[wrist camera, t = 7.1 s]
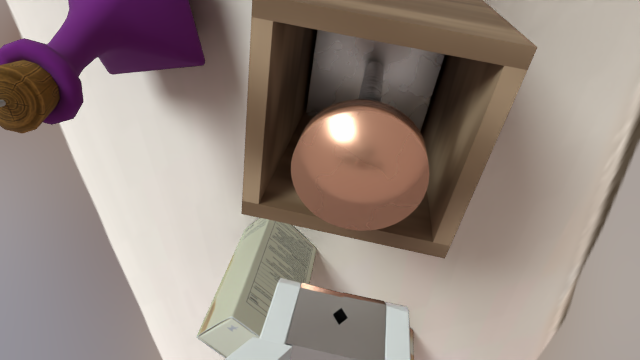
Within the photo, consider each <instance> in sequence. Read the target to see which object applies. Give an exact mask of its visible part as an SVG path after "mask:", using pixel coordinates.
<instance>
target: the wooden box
mask: <svg viewBox="0 0 640 360" xmlns="http://www.w3.org/2000/svg"><path fill="white" fill-rule="evenodd" d="M318 30H321V31H327V32H332V33H337V34H342V35H347V36H353V37H358V38H363V39H368V40H373V41H379V42H384V43H389V44H394V45H399V46H405V47H410V48H415V49H420V50H425V51H430V52H436V53H441V54H445V55H444V59H443V62H442V65H441V68H440V71H439V74H438V77H437V81H436V84H435V87H434V90H433V93H432V96H431V100H430V103H429V106H428V109H427V112H426V115H425V119H424V122H423V125H422V128H421V131H420V133H421V134H422V136H423V139H424V142H425V145H426V150H427V156H428V163H429V184H428V187H427V191H426V193H425V196H424V198H423V200H422V201H421V203H420V204H419V206H418V207H417V208H416V209H415V210H414V211H413V212H412V213H411V214H410V215H409V216H407V217H406V218H405V219H403V220H402V221H400V222H398V223H396V224H394V225H391V226H389V227H386V228H382V229H377V230H369V231H358V230H350V229H344V228H341V227H337V226H335V225H332V224H330V223H328V222H326V221H324V220H322V219H321V218H319V217H318V216H316V215H315V214H314V213H312V212H311V211H310V210H309V209H308V208H307V207H306V206H305V205H304V203H303V202H302V201H301V199H300V198H299V196H298V194H297V192H296V190H295V188H294V185H293V181H292V177H291V161H292V156H293V153H294V150H295V148H296V145H297V143H298V141H299V139H300V137H301V134H302V132H303V131H304V129H305V127H306V126H307V124H308V123H309V122H310V120H311V119H312V118H313V116H308V115H306V110H307V103H308V96H309V89H310V81H311V74H312V67H313V60H314V53H315V45H316V38H317V31H318ZM536 49H537V46H535V45H534V44H533V43H532V42H531V41H530V40H528V39H527V38H526V37H525V36H524V35H523V34H521V33H520V32H519V31H518V30H517V29H516V28H514V27H513V26H512V25H511V24H510V23H509V22H507V21H506V20H505V19H504V18H503V17H502V16H500V15H499V14H498V13H497V12H496V11H495V10H493V9H492V8H491V7H490V6H489V5H488V4H486V3H485V2H484V1H483V0H252V19H251V39H250V59H249V78H248V98H247V118H246V138H245V158H244V177H243V197H242V214H245V215H250V216H254V217H259V218H263V219H268V220H273V221H277V222H282V223H286V224H291V225H295V226H300V227H304V228H309V229H314V230H318V231H323V232H327V233H332V234H336V235H341V236H345V237H350V238H354V239H359V240H364V241H368V242H373V243H377V244H382V245H386V246H391V247H395V248H400V249H405V250H409V251H414V252H418V253H423V254H427V255H432V256H436V257H441V258H445V257H446V254H447V252H448V250H449V247H450V245H451V243H452V241H453V238H454V236H455V234H456V232H457V229H458V227H459V225H460V222H461V220H462V218H463V216H464V213H465V211H466V209H467V206H468V204H469V202H470V200H471V197H472V195H473V193H474V191H475V188H476V186H477V184H478V181H479V179H480V177H481V175H482V172H483V170H484V168H485V165H486V163H487V161H488V159H489V156H490V154H491V152H492V150H493V147H494V145H495V143H496V140H497V138H498V136H499V134H500V131H501V129H502V127H503V124H504V122H505V120H506V118H507V115H508V113H509V111H510V109H511V106H512V104H513V102H514V99H515V97H516V95H517V93H518V90H519V88H520V86H521V83H522V81H523V79H524V77H525V74H526V72H527V70H528V68H529V65H530V63H531V61H532V58H533V56H534V54H535V52H536Z"/></svg>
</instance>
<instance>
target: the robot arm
mask: <svg viewBox="0 0 640 360" xmlns="http://www.w3.org/2000/svg"><path fill="white" fill-rule="evenodd" d="M224 360H411V352H410V325H409V310H408V308H407V307H406V306H402V305H397V304H393V303H388V302H384V301H380V300H376V299H371V298H366V297H362V296H357V295H352V294H348V293H340V292H336V291H332V290H328V289H324V288H320V287H317V286H313V285H309V284H305V283H302V284H301V283H300V282H296V281H292V280H287V279H283V278H280V280H279V282H278V283H277V286H276V289H275V292H274V295H273V298H272V301H271V304H270V308H269V311H268V314H267V317H266V320H265V323H264V326H263V329H262V332H261V335H260V338H256V337H252V338H251V339H250V340H248V341H247V342H246V343H244V344H243V345H242V346H241V347H239V348H238V349H237V350H236V351H234V352H233V353H232V354H231V355H229V356H228V357H227V358H226V359H224Z"/></svg>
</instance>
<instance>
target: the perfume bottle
mask: <svg viewBox="0 0 640 360" xmlns="http://www.w3.org/2000/svg"><path fill="white" fill-rule="evenodd" d="M68 1H69V12H68V16H67V19H66V20H65V22H64V23H63V25H62V27H61V28H60V29H59V31H58V32H57V33H56V35H55V36H54V37H53V38H52V40H51V41H50V42H49V43H48V44H43V43H40V42H36V41H32V40H29V39H25V38H24V39H20V40H17V41H14V42H12V43H9V44H6V45H4V46H2V48H1V49H0V126H1V127H2V128H4V129H6V130H10V131H15V132H18V133H25V132H28V131H32V130H35V129H37V127H38V126H39V125H40V124H41V123H42V122H44V123H48V124H56V123H60V122H63V121H67V120H70V119H73V118H74V117H75V116H76V114H77V112H78V110H79V109H80V107H81V105H82V103H83V93H82V85H81V81H80V79H79V78H78V76H79V75H80V73H81V72H82V70H83V69H84V68H85V67H86V66H87V65H88V64H89V63H91V62H92V61H93V60H94V59H95V58H97V57H99V59H100V60H101V62H102V63H103V65H104V66H105V68H106V69H107V71H108V72H109V73H110V74H121V73H131V72H141V71H151V70H161V69H171V68H181V67H192V66H202V65H204V64H205V58H204V55H203V51H202V47H201V44H200V40H199V37H198V33H197V29H196V26H195V22H194V19H193V15H192V12H191V8H190V4H189V1H188V0H68Z"/></svg>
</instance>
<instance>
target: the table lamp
mask: <svg viewBox="0 0 640 360" xmlns="http://www.w3.org/2000/svg"><path fill="white" fill-rule="evenodd" d="M444 55H445V54H441V53H436V52H430V51H425V50H420V49H415V48H410V47H405V46H399V45H394V44H389V43H384V42H379V41H373V40H368V39H363V38H358V37H353V36H347V35H342V34H337V33H332V32H327V31H321V30H318V31H317V38H316V45H315V53H314V60H313V67H312V74H311V81H310V89H309V96H308V103H307V110H306V115H308V116H313V118H312V119H311V120H310V122H309V123H308V124H307V126H306V127H305V129H304V131H303V132H302V134H301V137H300V139H299V141H298V143H297V145H296V148H295V150H294V153H293V156H292V161H291V177H292V181H293V185H294V188H295V190H296V192H297V194H298V196H299V198H300V199H301V201H302V202H303V203H304V205H305V206H306V207H307V208H308V209H309V210H310V211H311V212H312V213H314V214H315V215H316V216H318V217H319V218H321V219H322V220H324V221H326V222H328V223H330V224H332V225H335V226H337V227H341V228H344V229H350V230H358V231H369V230H377V229H382V228H386V227H389V226H391V225H394V224H396V223H398V222H400V221H402V220H403V219H405V218H406V217H407V216H409V215H410V214H411V213H412V212H413V211H414V210H415V209H416V208H417V207H418V206H419V204H420V203H421V201H422V200H423V198H424V196H425V193H426V191H427V187H428V184H429V163H428V156H427V150H426V145H425V142H424V139H423V136H422V134H421V133H420V131H421V128H422V125H423V122H424V119H425V115H426V112H427V109H428V106H429V103H430V100H431V96H432V93H433V90H434V87H435V84H436V81H437V77H438V74H439V71H440V68H441V65H442V62H443V59H444Z"/></svg>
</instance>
